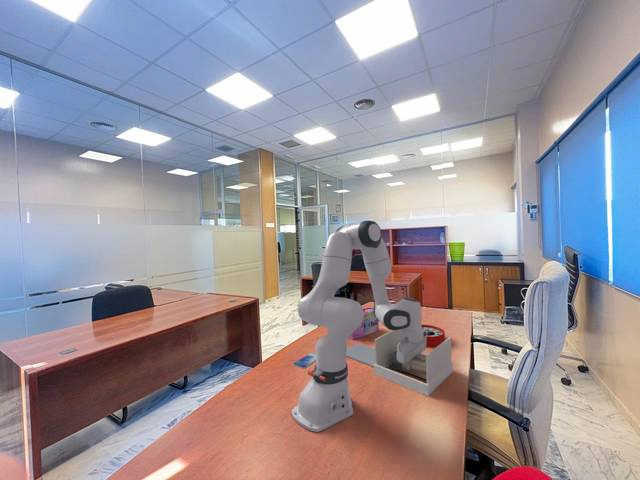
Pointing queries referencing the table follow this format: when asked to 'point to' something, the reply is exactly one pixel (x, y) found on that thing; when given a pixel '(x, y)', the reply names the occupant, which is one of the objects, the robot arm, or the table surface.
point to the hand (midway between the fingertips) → (412, 366)
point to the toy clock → (433, 335)
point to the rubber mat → (361, 354)
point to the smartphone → (306, 361)
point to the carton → (435, 359)
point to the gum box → (366, 325)
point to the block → (416, 365)
